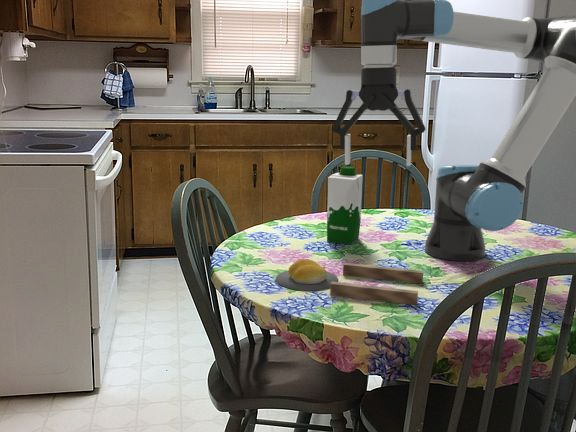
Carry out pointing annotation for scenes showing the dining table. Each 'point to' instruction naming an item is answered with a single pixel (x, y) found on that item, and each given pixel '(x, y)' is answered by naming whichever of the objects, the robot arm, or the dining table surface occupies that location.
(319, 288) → the mat
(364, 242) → the dining table surface
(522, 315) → the dining table surface
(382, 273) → the chute
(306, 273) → the bread roll
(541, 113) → the robot arm
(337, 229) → the milk carton
